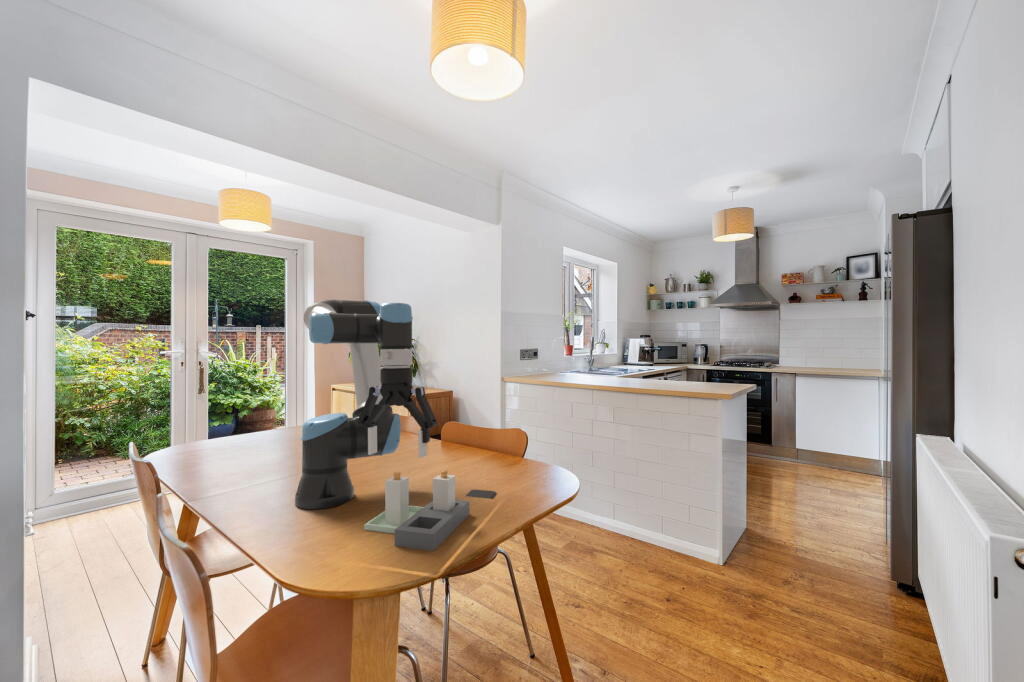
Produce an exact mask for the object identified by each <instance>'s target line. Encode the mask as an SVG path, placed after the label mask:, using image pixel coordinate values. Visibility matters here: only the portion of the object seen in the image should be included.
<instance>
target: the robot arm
mask: <svg viewBox="0 0 1024 682" xmlns="http://www.w3.org/2000/svg"><path fill="white" fill-rule="evenodd" d="M412 311H413V310H412V306H411V305H410V304H409V303H405V302H385V303H382V304H380V303H379V302H376V301H370V300H347V299H346V300H345V299H344V300H343V299H325V300H321V301H318V302H314V303H312V304H311V305H310V306H308V307H307V308H306V309H305V311H304V314H303V322H304V325H305V326H306V328H307V329H308V336H309V341H310V342H311V343H313V344H322V345H329V344H349V346H350V347H349V349H350V355H351V364H352V374H353V384H354V393H355V403H356V408H355V409H354V410H353V412H352V413H351V414H352V415H351V416H352V417H349V416H348V414H347V413H345V412H337V413H334V412H333V413H327V414H323V415H319V416H315V417H312V418H310V419H308V420H306V421H305V422H304V423H303V424H302V429H301V430H302V431H301V437H300V440H301V442H302V443H301V445H302V446H301V453H302V454H301V466H302V467H301V476H300V479H299V483H298V485H297V490H296V492H295V496H294V504H295V506H296V507H297V508H300V509H303V510H304V509H305V510H320V509H321V510H322V509H327V508H328V509H329V508H334V507H338V506H341V505H344V504H346V503H348V502H350V501H351V500H353V498H354V497H355V488H354V485H353V483H352V479H351V476H350V474H349V470H348V460H351V459H353V460H354V459H361V458H368V457H369V458H370V457H378V456H380V457H381V456H383V455H388V454H389V455H390V454H393V453H395V452H396V451H397V450H398V448H399V445H400V441H401V440H400V439H401V435H402V434H401V432H402V420H401V419H402V418H401V416H400V414H399V413H394V412H393V407H392V406H397V407H402V406H403V407H404V408H405V409H406V410H407V411H408V412H409V414H410V415H411V417H413V418H412V419H414V421H415V422H416V423H417V424H418V426H419V427H420V428H419V429H418V430H417V433H418V435H417V436H418V439H417V440H418V443H417V444H418V447H417V449H418V459H419V458H420V459H422V458H425V457H427V455H428V454H427V453H428V450H427V449H428V447H427V444H428V443H429V442H430V441H431V431H430V430H431V428H433V427H435V426H437V425H438V421H437V419H436V416H435V414H434V412H433V410H432V408H431V406H430V403H429V401H428V399H427V397H426V390H425V387H424V386H419V387H415V388H414V387H413V368H412V367H411V366H412V365H413V318H414V317H413V314H412V313H413V312H412ZM379 345H380V347H379ZM379 349H380V350H379ZM379 351H380V352H379ZM412 396H414V397H415V398H416V401H417V404H418V405H419V406H417V405H416V402H415V400H414V399H413V398H412ZM418 407H419V408H418Z"/></svg>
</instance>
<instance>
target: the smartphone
mask: <svg viewBox="0 0 1024 682" xmlns="http://www.w3.org/2000/svg"><path fill="white" fill-rule="evenodd" d="M495 495H497V491H494V490H484V489H471V490H470V491H468V492H467V493H466V494H465V497H467V498H468V497H469V498H479V499H480V498H481V499H490V500H492V499H493V498H494V497H495Z"/></svg>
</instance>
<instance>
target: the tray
mask: <svg viewBox="0 0 1024 682" xmlns="http://www.w3.org/2000/svg"><path fill="white" fill-rule="evenodd" d="M423 507H424V506H417V505H409V518H410V517H412V516H413V515H414V514H416V513H417V512H418V511H419V510H421V509H422V508H423ZM409 518H408V519H409ZM408 519H407V520H408ZM404 522H405V521H404ZM404 522H403V523H404ZM403 523H402V524H403ZM363 525H364V530H365V531H372V532H380V533H389V534H394V535H395V529H396V528H397V527H399V526H400V524H391V523H385V510H384V511H382V512H380V513H379V514H378V515H376V516H375V517H373V518H372V519H370V520H369V521H367V522H366V523H364V524H363Z"/></svg>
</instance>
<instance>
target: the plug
mask: <svg viewBox="0 0 1024 682" xmlns="http://www.w3.org/2000/svg"><path fill="white" fill-rule="evenodd" d="M384 482H385V483H384V485H385V486H384V490H385V493H384V497H385V501H384V503H385V504H384V505H385V508H384V509H385V510H384V511H385V523H391V524H400V525H401V524H402V523H403V522H404V521H406V520H407V519H408V518H409V506H410V495H409V494H410V493H409V491H410V490H409V489H410V487H409V485H410V479H409V476H401V472H400V471H394V472H393V476H391V477H390V478H388V479H386V480H384Z"/></svg>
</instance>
